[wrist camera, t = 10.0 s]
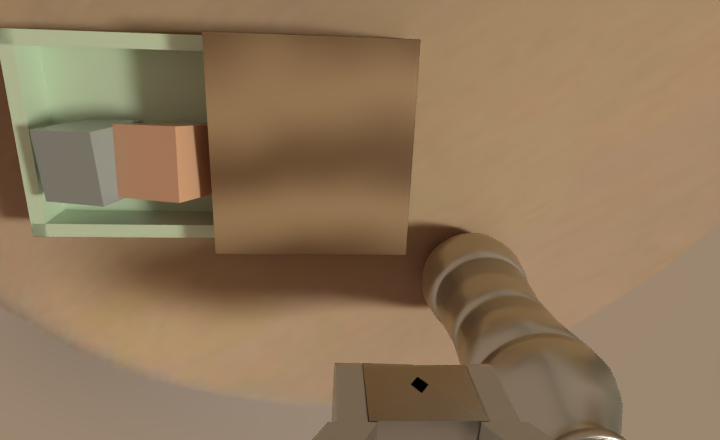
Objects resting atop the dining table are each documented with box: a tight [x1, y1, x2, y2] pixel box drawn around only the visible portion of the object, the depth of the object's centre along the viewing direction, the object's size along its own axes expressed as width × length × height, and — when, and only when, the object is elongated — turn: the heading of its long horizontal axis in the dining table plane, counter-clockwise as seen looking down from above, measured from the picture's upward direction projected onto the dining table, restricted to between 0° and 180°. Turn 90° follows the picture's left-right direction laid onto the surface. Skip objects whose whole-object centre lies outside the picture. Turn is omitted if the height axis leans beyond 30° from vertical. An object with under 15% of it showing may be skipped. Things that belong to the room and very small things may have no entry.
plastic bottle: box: [422, 233, 625, 440], centre depth 27 cm, size 6×7×20 cm
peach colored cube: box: [112, 122, 212, 203], centre depth 30 cm, size 4×4×4 cm
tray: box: [0, 28, 215, 238], centre depth 31 cm, size 12×11×3 cm
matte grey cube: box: [30, 118, 143, 207], centre depth 30 cm, size 4×4×4 cm
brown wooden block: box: [202, 31, 421, 255], centre depth 31 cm, size 12×11×5 cm
